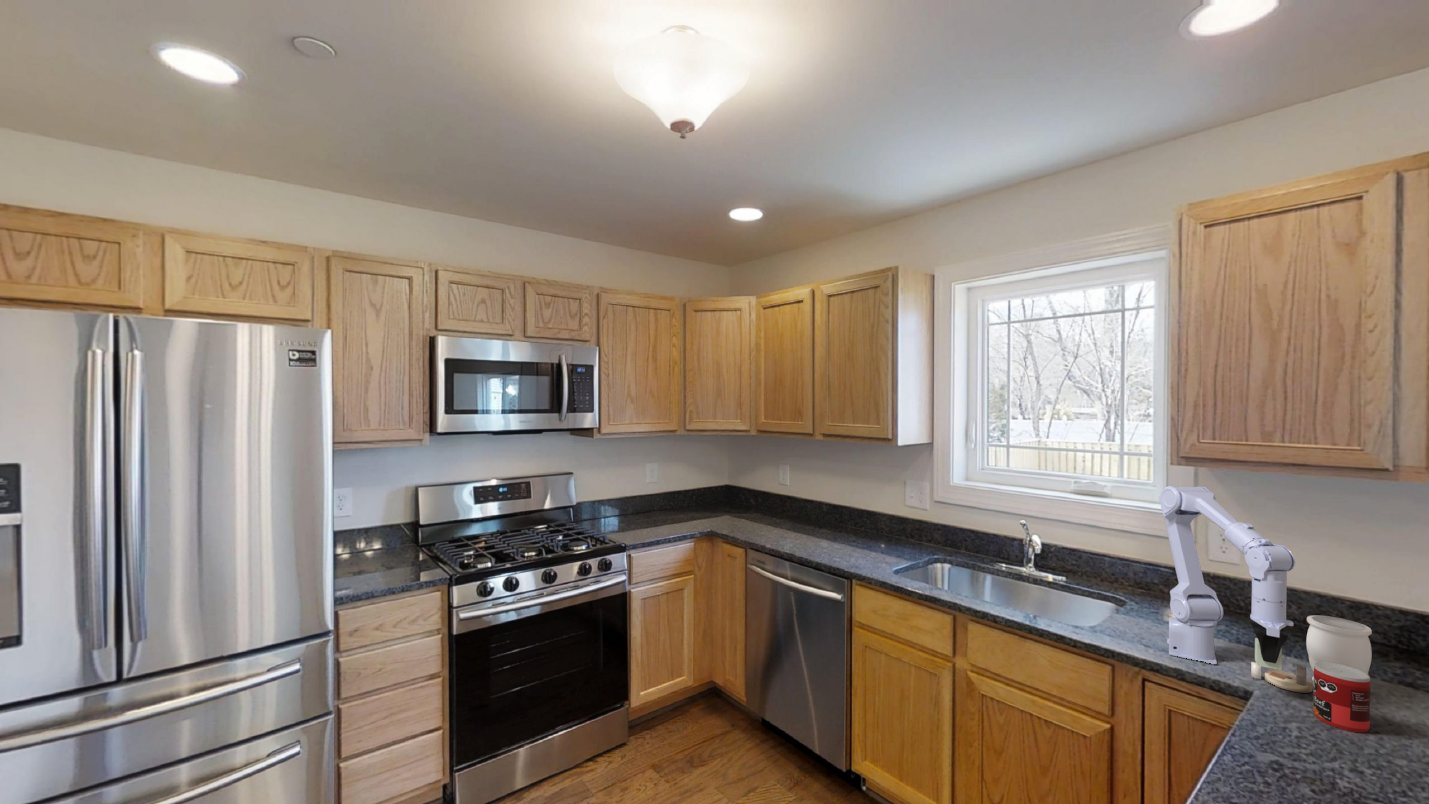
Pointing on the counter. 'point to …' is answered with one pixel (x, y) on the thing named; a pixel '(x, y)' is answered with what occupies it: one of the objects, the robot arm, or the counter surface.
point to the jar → (1338, 642)
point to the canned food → (1341, 696)
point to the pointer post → (1255, 670)
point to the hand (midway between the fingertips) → (1267, 658)
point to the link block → (1263, 663)
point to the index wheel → (1290, 680)
